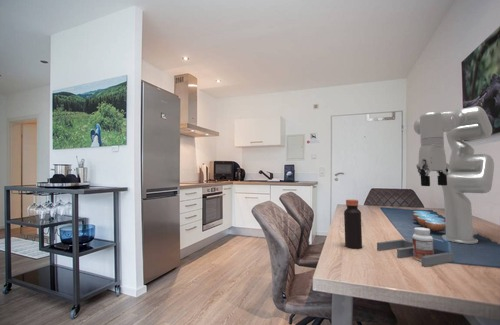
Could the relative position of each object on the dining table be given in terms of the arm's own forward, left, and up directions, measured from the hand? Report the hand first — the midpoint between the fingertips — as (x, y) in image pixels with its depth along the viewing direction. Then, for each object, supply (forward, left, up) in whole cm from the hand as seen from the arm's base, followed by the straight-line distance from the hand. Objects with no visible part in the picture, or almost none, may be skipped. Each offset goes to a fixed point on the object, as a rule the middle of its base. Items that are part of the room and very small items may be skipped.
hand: (434, 185), depth 97 cm
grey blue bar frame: (+13, -1, -26) cm, 29 cm away
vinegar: (+25, -18, -26) cm, 41 cm away
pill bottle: (+13, +4, -26) cm, 30 cm away
